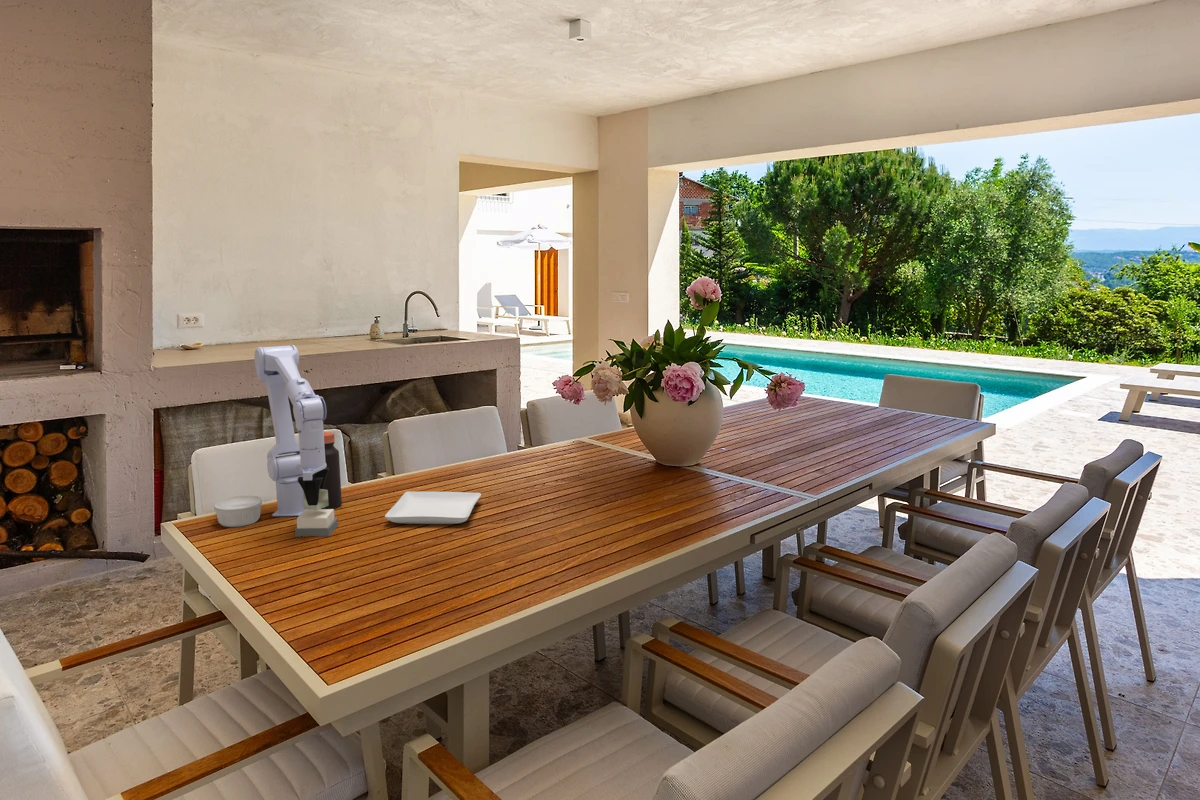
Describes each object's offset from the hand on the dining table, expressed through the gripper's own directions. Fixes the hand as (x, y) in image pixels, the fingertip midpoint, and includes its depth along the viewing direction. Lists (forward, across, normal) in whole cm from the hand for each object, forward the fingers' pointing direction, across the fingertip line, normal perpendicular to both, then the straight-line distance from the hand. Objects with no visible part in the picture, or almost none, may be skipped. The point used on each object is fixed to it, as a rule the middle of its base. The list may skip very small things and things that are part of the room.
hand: (315, 501), depth 192 cm
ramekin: (+8, -10, -21) cm, 25 cm away
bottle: (+8, -20, -1) cm, 22 cm away
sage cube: (+1, 0, 0) cm, 1 cm away
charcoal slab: (+8, 0, 0) cm, 8 cm away
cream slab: (+6, 0, 0) cm, 6 cm away
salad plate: (+8, -9, +28) cm, 31 cm away
